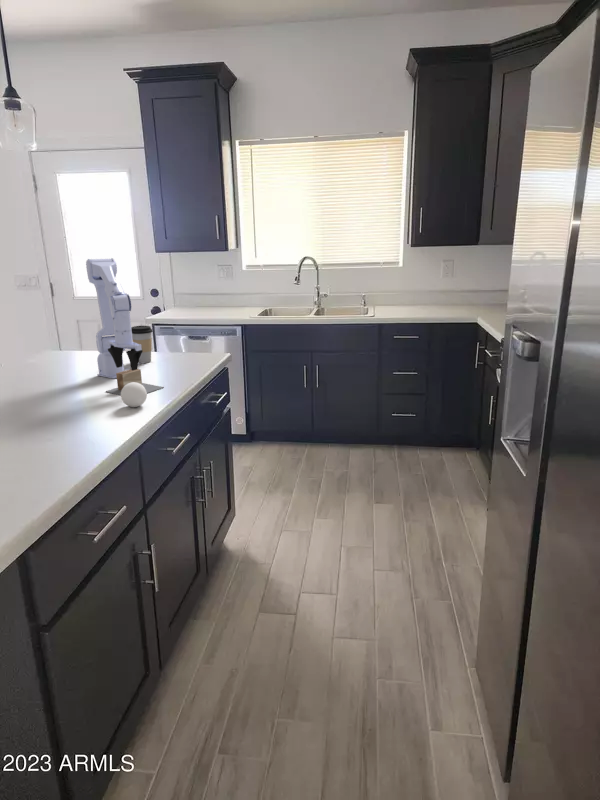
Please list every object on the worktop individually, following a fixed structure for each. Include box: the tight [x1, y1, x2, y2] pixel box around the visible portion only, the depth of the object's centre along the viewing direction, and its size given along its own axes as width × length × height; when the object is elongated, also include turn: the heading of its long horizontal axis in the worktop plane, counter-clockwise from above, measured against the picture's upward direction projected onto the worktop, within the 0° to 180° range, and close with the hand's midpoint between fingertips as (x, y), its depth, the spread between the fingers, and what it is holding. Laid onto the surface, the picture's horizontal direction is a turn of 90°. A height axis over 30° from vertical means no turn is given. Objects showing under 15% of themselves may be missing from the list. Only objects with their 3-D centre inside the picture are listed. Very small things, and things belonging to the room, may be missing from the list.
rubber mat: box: [105, 382, 165, 396], centre depth 185 cm, size 14×14×1 cm
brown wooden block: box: [116, 368, 143, 390], centre depth 186 cm, size 4×8×6 cm, turn 150°
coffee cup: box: [131, 325, 153, 364], centre depth 223 cm, size 9×9×15 cm
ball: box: [120, 382, 148, 408], centre depth 167 cm, size 8×8×8 cm
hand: (126, 368), depth 184 cm, fingers open, 7 cm apart
